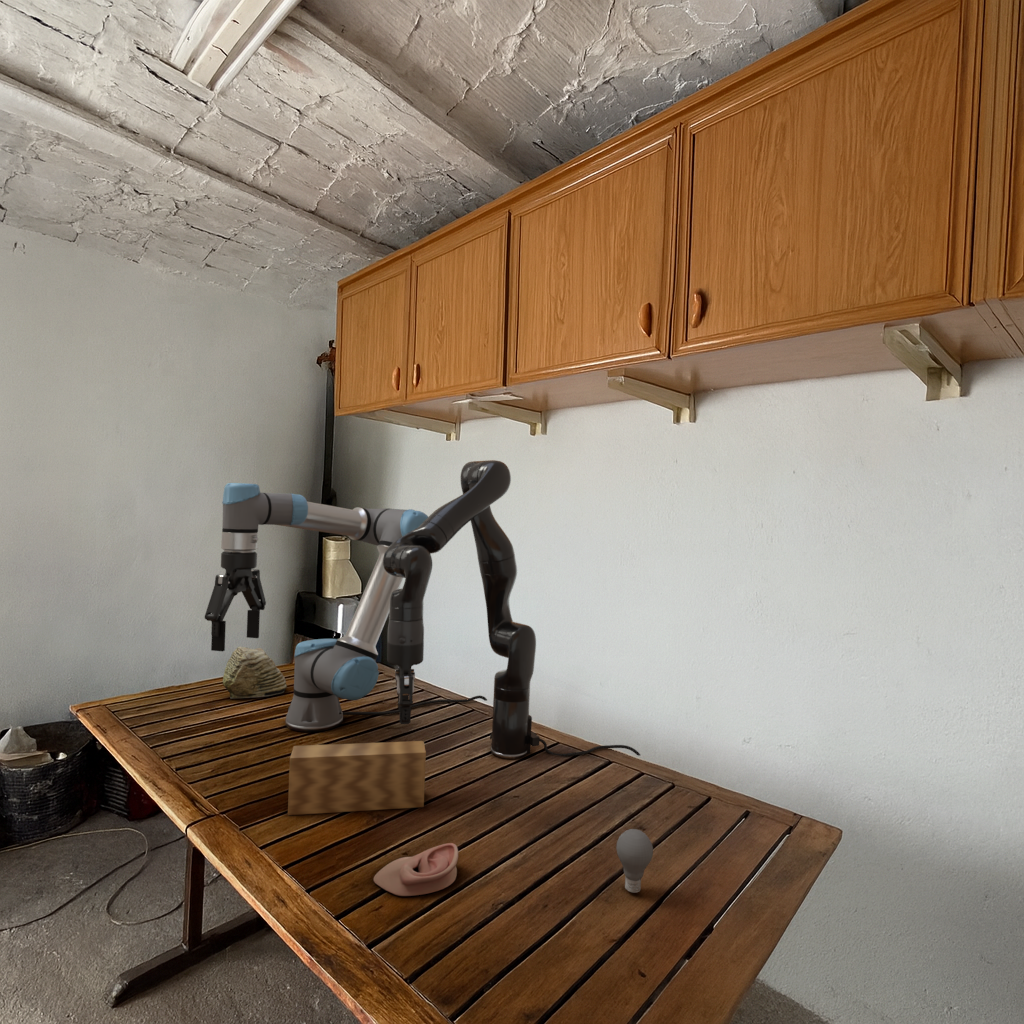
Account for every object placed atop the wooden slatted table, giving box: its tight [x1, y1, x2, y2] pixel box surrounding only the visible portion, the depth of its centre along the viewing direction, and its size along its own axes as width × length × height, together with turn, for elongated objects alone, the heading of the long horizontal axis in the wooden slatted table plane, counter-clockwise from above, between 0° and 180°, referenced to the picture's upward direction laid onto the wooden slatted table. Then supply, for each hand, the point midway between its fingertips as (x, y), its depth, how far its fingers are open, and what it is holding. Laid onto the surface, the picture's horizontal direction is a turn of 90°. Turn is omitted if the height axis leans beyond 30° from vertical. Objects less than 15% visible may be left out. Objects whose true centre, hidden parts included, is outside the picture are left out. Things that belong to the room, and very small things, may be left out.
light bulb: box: [615, 828, 654, 894], centre depth 106 cm, size 6×6×10 cm
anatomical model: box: [373, 842, 459, 897], centre depth 107 cm, size 13×4×12 cm
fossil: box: [222, 646, 288, 699], centre depth 198 cm, size 9×18×15 cm, turn 132°
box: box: [287, 740, 427, 816], centre depth 131 cm, size 27×6×12 cm, turn 102°
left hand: (236, 644), depth 144 cm, fingers open, 13 cm apart
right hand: (403, 716), depth 133 cm, fingers open, 8 cm apart
